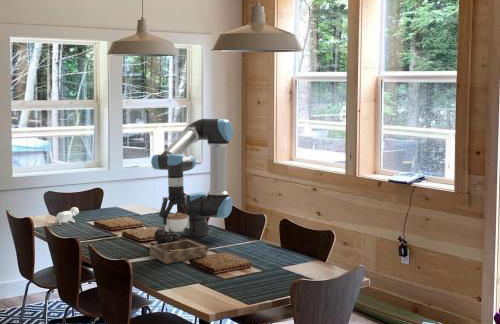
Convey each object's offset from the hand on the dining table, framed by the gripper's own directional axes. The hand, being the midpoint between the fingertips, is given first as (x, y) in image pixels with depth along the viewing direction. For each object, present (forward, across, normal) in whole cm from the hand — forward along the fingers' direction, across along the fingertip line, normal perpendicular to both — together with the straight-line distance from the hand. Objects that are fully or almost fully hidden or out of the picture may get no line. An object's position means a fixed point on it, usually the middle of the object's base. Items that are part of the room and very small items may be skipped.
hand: (177, 229), depth 361 cm
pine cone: (+14, +5, +20) cm, 25 cm away
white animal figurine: (+14, -18, +110) cm, 112 cm away
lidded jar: (+1, 0, 0) cm, 1 cm away
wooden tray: (+14, 0, 0) cm, 14 cm away
